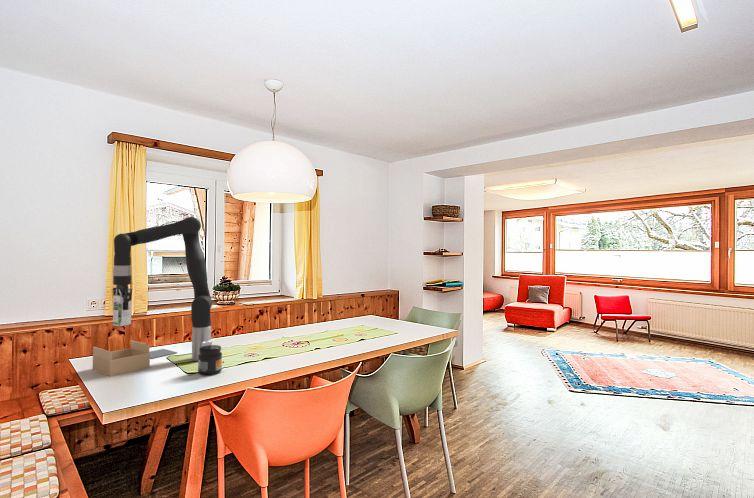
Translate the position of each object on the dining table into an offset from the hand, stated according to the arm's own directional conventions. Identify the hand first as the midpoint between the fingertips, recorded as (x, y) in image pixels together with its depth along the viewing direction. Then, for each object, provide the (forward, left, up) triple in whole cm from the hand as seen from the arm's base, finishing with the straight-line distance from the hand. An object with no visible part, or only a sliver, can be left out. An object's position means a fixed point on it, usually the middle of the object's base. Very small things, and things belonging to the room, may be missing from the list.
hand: (122, 309), depth 194 cm
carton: (0, 0, -29) cm, 29 cm away
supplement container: (-41, -20, -29) cm, 54 cm away
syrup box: (0, 0, -8) cm, 8 cm away
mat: (+12, -24, -29) cm, 39 cm away
